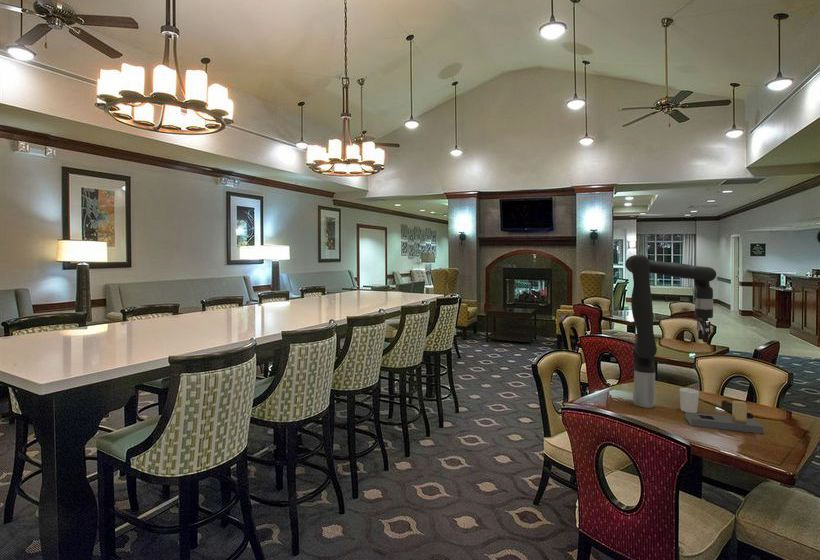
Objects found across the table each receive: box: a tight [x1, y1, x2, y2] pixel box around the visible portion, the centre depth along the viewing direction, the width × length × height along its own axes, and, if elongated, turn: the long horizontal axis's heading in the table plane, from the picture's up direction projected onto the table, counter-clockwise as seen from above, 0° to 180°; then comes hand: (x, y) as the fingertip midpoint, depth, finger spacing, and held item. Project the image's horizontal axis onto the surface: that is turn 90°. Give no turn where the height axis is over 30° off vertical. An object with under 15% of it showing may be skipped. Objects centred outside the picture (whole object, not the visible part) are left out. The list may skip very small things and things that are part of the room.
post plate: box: [685, 412, 764, 435], centre depth 194 cm, size 26×10×3 cm, turn 70°
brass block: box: [731, 400, 748, 423], centre depth 192 cm, size 4×4×8 cm
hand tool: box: [721, 399, 754, 419], centre depth 209 cm, size 19×4×5 cm, turn 174°
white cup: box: [679, 387, 700, 413], centre depth 214 cm, size 8×8×10 cm
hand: (703, 340), depth 218 cm, fingers open, 8 cm apart
